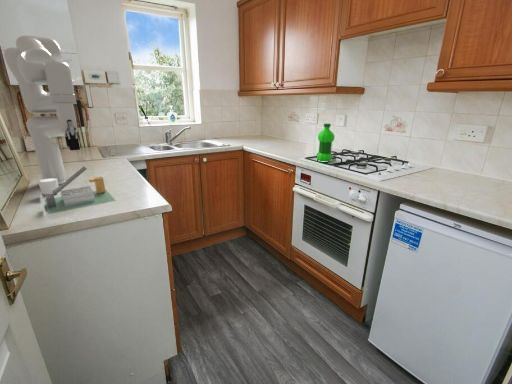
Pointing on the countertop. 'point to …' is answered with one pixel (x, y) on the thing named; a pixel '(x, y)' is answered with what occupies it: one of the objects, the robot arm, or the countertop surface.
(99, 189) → the block
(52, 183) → the white grey cylinder
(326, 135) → the plastic bottle
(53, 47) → the robot arm
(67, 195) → the heat sink
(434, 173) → the countertop surface
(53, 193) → the strap
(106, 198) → the circuit board
